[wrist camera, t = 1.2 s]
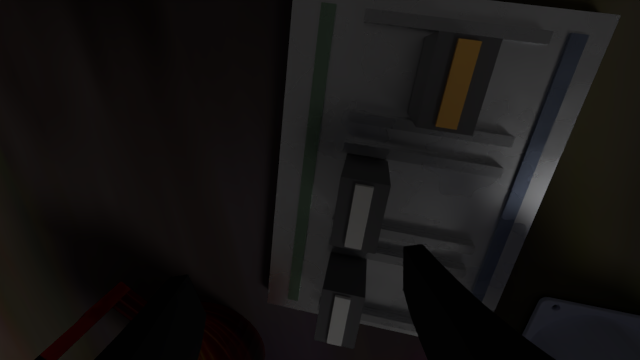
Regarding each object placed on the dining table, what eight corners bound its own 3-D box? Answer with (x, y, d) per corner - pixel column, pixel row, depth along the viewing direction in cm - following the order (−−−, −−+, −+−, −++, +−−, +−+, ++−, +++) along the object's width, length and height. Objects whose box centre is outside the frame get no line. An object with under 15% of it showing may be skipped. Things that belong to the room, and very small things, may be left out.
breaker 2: (367, 257, 22) (365, 300, 18) (357, 303, 23) (353, 351, 20) (331, 250, 22) (321, 291, 18) (323, 295, 24) (313, 342, 20)
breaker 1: (387, 161, 19) (391, 187, 16) (375, 219, 21) (375, 256, 17) (347, 154, 20) (340, 178, 16) (337, 212, 21) (328, 247, 17)
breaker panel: (604, 18, 16) (633, 12, 15) (473, 336, 25) (481, 359, 23) (299, -18, 18) (291, -26, 16) (271, 292, 26) (263, 310, 24)
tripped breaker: (474, 43, 16) (504, 38, 13) (452, 120, 18) (474, 137, 14) (425, 36, 17) (440, 30, 13) (407, 113, 18) (416, 128, 14)
